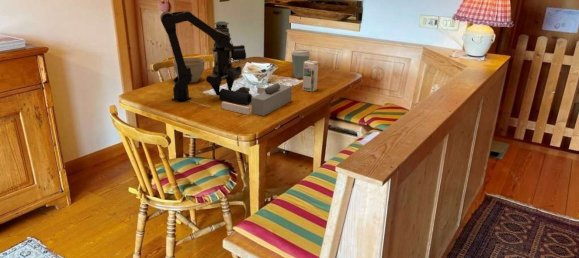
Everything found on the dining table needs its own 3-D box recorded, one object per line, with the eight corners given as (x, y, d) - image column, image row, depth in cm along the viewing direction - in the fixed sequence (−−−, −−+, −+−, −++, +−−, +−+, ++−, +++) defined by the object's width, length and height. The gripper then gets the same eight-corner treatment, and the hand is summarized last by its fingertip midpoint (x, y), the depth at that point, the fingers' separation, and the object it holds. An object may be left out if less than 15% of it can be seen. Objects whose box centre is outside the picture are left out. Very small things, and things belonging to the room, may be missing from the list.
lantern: (205, 73, 241) (203, 19, 230) (229, 70, 248) (227, 17, 237) (219, 81, 226) (217, 24, 214) (244, 78, 233) (243, 22, 222)
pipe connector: (233, 83, 206) (259, 88, 199) (233, 94, 208) (259, 99, 201) (218, 90, 196) (245, 95, 190) (219, 100, 199) (246, 106, 192)
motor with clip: (260, 117, 178) (260, 94, 175) (221, 108, 187) (221, 86, 184) (293, 99, 202) (294, 79, 198) (258, 92, 211) (258, 72, 207)
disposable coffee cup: (287, 78, 237) (288, 51, 231) (293, 73, 246) (294, 47, 240) (306, 80, 234) (307, 52, 228) (311, 75, 243) (312, 49, 238)
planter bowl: (207, 77, 234) (206, 57, 230) (202, 85, 219) (201, 64, 215) (177, 76, 234) (176, 56, 229) (171, 84, 219) (169, 63, 214)
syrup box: (302, 90, 216) (303, 62, 211) (307, 87, 221) (308, 59, 216) (312, 92, 214) (313, 63, 208) (317, 89, 219) (318, 61, 213)
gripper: (224, 67, 186) (225, 101, 192) (249, 59, 201) (249, 91, 207) (204, 63, 191) (206, 97, 197) (229, 56, 206) (230, 87, 212)
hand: (224, 93), depth 203 cm, fingers open, 9 cm apart
